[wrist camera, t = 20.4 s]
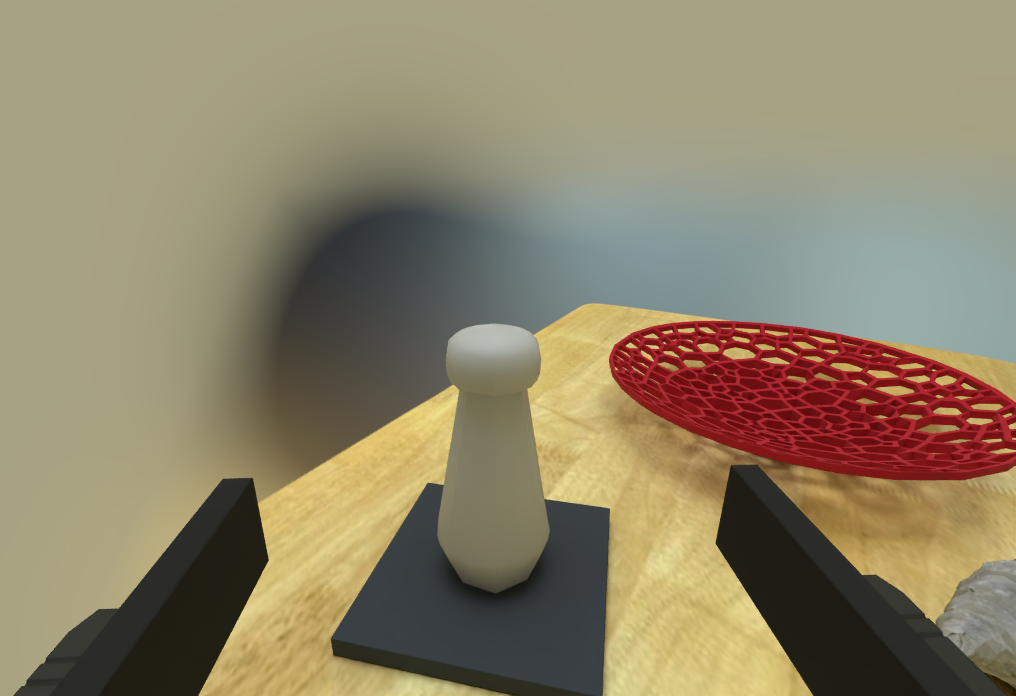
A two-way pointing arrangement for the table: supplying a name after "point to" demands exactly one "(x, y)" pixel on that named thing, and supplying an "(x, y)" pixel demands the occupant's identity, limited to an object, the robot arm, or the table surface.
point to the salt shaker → (493, 460)
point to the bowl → (817, 402)
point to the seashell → (985, 619)
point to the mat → (488, 609)
